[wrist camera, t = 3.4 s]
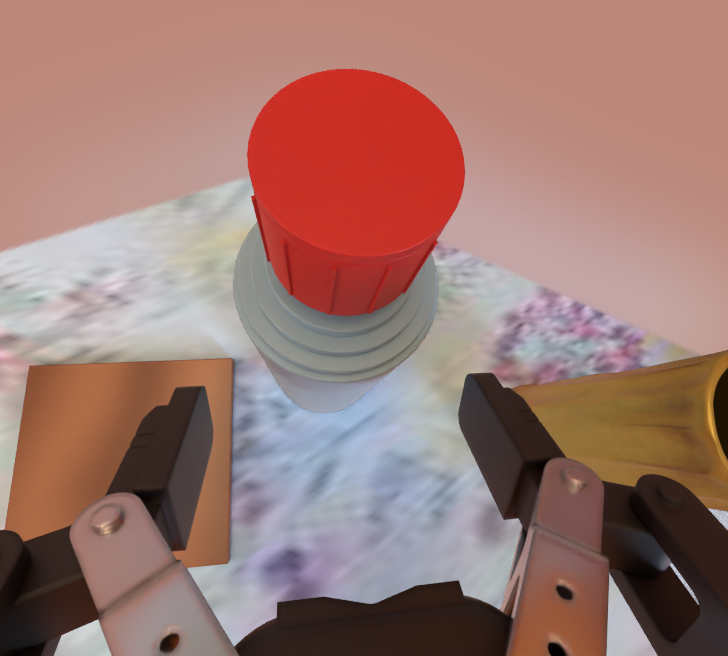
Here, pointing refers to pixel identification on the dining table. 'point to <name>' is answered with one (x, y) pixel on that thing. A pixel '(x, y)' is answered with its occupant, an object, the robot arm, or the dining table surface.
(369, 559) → the dining table surface
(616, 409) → the vase
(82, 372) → the coaster
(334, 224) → the cap
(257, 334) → the bottle
